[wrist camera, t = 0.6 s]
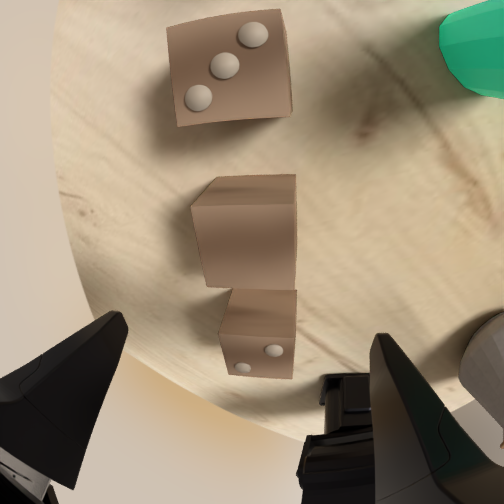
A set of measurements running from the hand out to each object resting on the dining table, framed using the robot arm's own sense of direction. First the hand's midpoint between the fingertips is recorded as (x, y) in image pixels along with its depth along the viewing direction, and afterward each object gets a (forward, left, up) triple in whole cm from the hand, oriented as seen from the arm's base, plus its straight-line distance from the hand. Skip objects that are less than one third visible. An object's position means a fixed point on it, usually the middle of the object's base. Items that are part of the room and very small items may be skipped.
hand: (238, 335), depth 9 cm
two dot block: (-9, +1, -11) cm, 15 cm away
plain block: (0, +1, -11) cm, 11 cm away
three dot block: (+9, +1, -11) cm, 14 cm away
